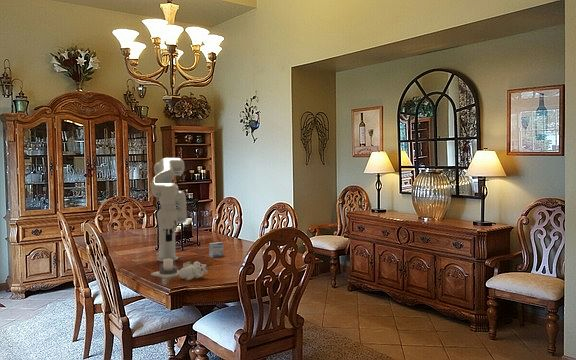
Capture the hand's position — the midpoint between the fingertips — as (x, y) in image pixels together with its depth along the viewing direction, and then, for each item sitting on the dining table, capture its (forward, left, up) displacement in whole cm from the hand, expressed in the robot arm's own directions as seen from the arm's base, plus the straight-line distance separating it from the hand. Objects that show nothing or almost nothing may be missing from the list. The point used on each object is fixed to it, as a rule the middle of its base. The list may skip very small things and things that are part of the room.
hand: (168, 241), depth 276 cm
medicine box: (-10, +47, -18) cm, 51 cm away
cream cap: (+1, -2, -17) cm, 17 cm away
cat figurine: (+19, -1, -18) cm, 26 cm away
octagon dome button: (+1, -2, -18) cm, 18 cm away
